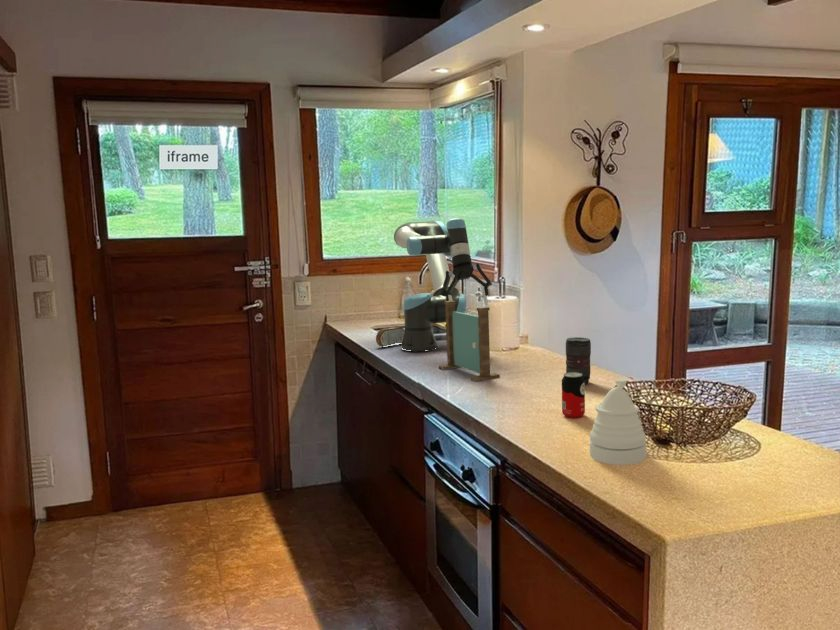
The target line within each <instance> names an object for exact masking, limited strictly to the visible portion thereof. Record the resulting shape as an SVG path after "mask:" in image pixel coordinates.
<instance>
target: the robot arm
mask: <svg viewBox="0 0 840 630" xmlns="http://www.w3.org/2000/svg"><path fill="white" fill-rule="evenodd" d="M393 239H394V243H395V245H397V246H398V247H399V248H403V249H406V251H407V254H408V255H409V256H421V255H422V256H423V255H425V258H426V261H427V262H426V263H427V266H428V270H429V273H430V278H431V279H430V280H431V281H432V286H433V291H434V292H433V293H432V294H431V293H429V292H424V293H423V292H422V293H417V294H412V295H408V296H407V297H405V298H404V300H403V307H402V308H403V315H404V316H403V318H404V320H403V321H404V330H405V333H404V337H403V341H402V344H401V349H402V348H403V349H406V350H411V351H425V350H432V349H435V348H437V349H438V343H437V339H436V337H435V334H434V331H433V324H440V323H442V324H443V323H445V324H446V312H445V304H444V301H456V304H455V311H456V312H461V313H466V308H467V300H466V295H465V294H464V293H460V292H459V289H458V287H456V286H457V284H458V283H459V282H460V281H464V280H469V279H470V278H472V279H473V280H474V281H475V282H477V283H478V284H480V285H481V286H482V287H481V291H482V292H481V293H482V297H483V303H484V304H485V306H488V304H489V303H488V296H490V292H489V287H490V286H492V285H493V282H491V280H490V279H489V277H488V276H487V275H486V273H485V272H484V271H483V270H482V269H483V268H482V267H481V265H480V264H479V263H476V264H475V265H473V262H472V257H471V251H470V249H471V248H470V246H469V245H470V244H469V238H468V233H467V226H466V222H465V220H464V219H463V218H459V217H455V218H451V219H449V220H448V221H447V222H446V225H445V224H444V222H442V221H440V220H439V221H438V220H437V221H436V220H432V221H418V222H417V221H416V222H415V221H414V222H413V221H412V222H410V221H409V222H406V223H403V224H402V225H399V226H398V227H397V229H395V231H394V234H393ZM447 257H450V258H451V262H452V263H451V264H452V270H451V271H450V268H449V264H448V260H447ZM474 270H476V271H477V272H478V273H479V274H480V275H481V276H482V278H483V279H484V281H483V280H482V279H480V278H479V277H478V276H476V275H475V274H474ZM452 276H453V279H452ZM485 281H486V282H485ZM435 350H436V349H435ZM432 351H433V350H432Z"/></svg>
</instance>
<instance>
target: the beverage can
mask: <svg viewBox="0 0 840 630" xmlns="http://www.w3.org/2000/svg"><path fill="white" fill-rule="evenodd" d="M585 386H586V385H585V381H584V379H583V377H582V374H581V373H576V372H569V373H566V372H565V373H564V374H563V377H562V379H561V411H562V412H561V413H562V415H563V416H565V417H566V418H569V419H578V418H582V417H583V416H584V415H585V414H586V404H585V403H586V402H585V401H586V397H585V396H586V395H585V394H586V392H585V388H586V387H585Z"/></svg>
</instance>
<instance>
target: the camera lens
mask: <svg viewBox="0 0 840 630" xmlns="http://www.w3.org/2000/svg"><path fill="white" fill-rule="evenodd" d="M591 345H592V342H591V339H590V338H587V337H578V336H577V337H567V338H566V341H565V356H566V357H565V364H566V365H565V373H569V372H576V373H581V374H582V377H583V379H584V381H585V386H586V385H588V384H590V383H589V382H590V378H591V354H592V353H591V352H592V351H591V349H592V347H591Z"/></svg>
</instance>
